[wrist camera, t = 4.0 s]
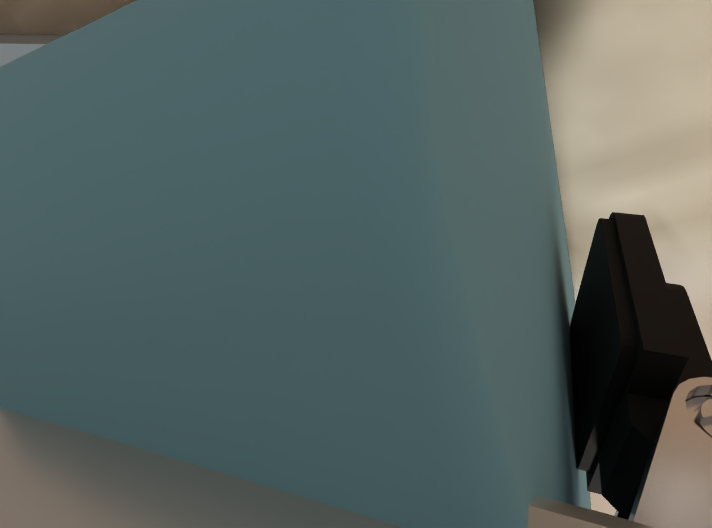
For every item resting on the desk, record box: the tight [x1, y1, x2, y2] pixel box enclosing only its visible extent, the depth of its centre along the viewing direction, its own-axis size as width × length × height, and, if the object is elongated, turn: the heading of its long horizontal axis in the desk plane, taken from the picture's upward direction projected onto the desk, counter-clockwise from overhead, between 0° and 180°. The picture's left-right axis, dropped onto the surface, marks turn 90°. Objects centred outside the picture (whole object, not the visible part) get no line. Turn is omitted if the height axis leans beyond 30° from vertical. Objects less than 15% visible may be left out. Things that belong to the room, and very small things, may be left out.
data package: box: [0, 0, 591, 528], centre depth 10 cm, size 12×4×12 cm, turn 20°
